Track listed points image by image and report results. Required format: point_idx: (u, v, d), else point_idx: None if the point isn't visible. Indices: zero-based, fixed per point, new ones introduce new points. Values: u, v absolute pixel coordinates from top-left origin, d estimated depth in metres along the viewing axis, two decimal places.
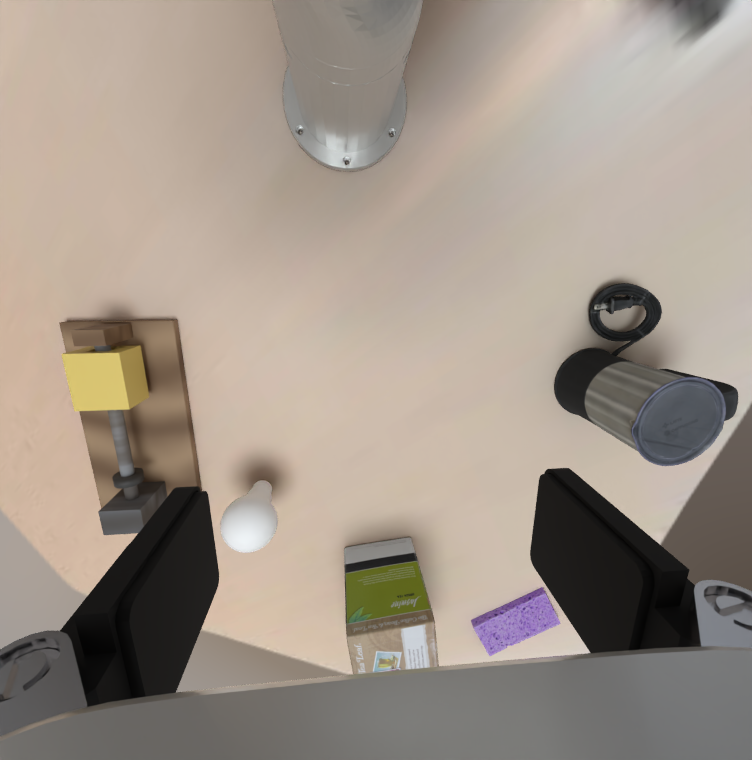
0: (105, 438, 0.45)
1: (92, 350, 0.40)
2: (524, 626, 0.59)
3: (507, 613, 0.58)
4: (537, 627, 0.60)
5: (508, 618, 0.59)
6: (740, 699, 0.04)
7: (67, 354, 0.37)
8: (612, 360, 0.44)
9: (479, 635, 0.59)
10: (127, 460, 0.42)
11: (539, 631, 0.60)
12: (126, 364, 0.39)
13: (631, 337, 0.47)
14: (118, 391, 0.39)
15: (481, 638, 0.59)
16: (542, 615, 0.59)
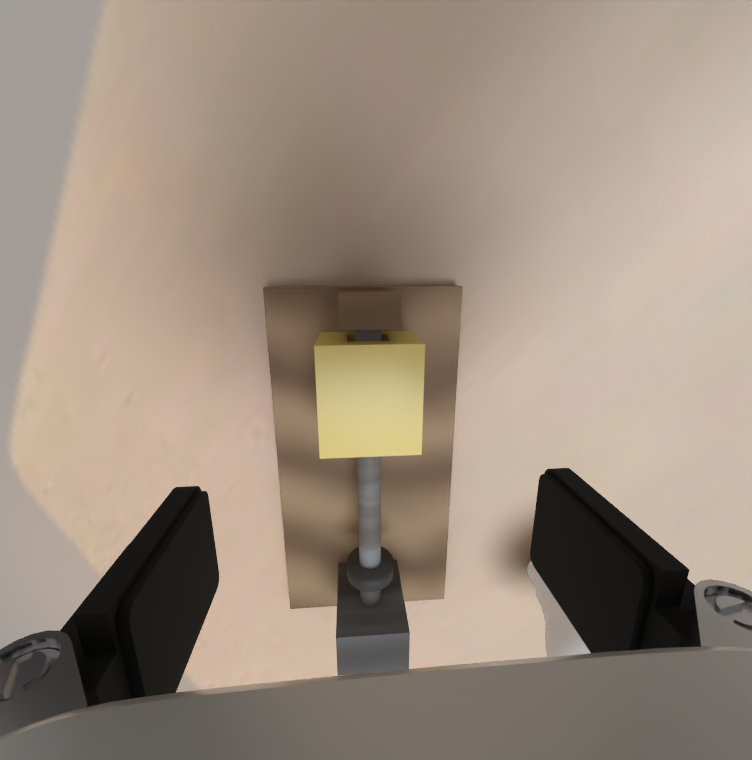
0: (313, 492, 0.26)
1: (346, 339, 0.20)
2: None
3: None
4: None
5: None
6: (740, 699, 0.04)
7: (324, 346, 0.18)
8: None
9: None
10: (378, 540, 0.23)
11: None
12: None
13: None
14: (408, 420, 0.20)
15: None
16: None
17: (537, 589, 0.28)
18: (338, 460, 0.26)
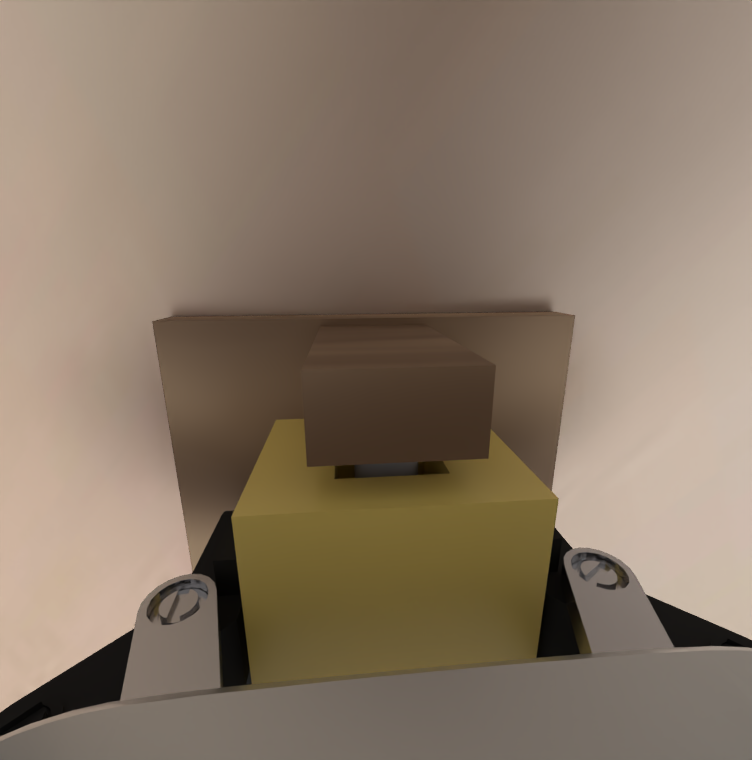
0: None
1: None
2: None
3: None
4: None
5: None
6: (740, 699, 0.04)
7: (264, 516, 0.06)
8: None
9: None
10: None
11: None
12: None
13: None
14: None
15: None
16: None
17: None
18: None
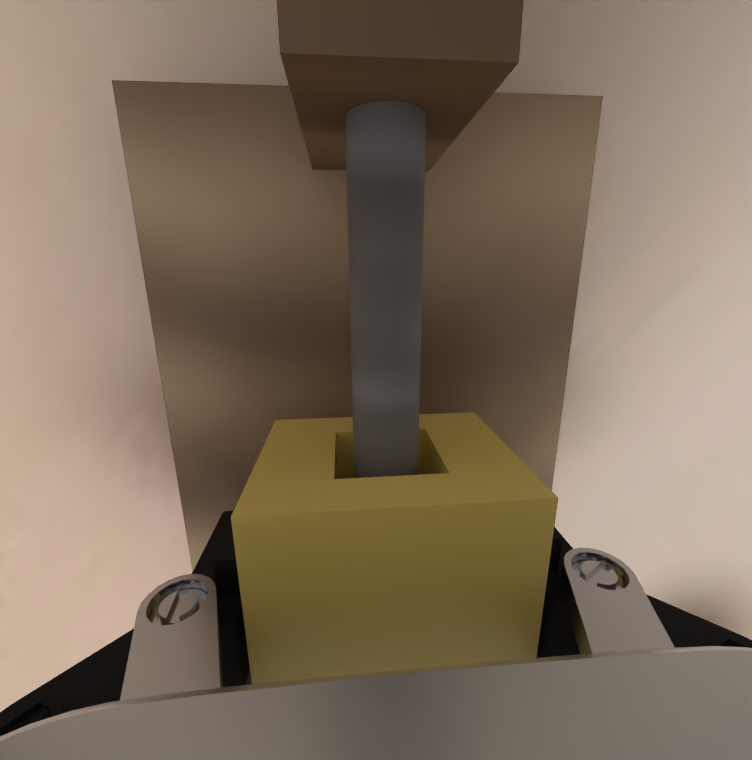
0: None
1: None
2: None
3: None
4: None
5: None
6: (742, 699, 0.04)
7: (264, 516, 0.06)
8: None
9: None
10: None
11: None
12: None
13: None
14: None
15: None
16: None
17: None
18: None
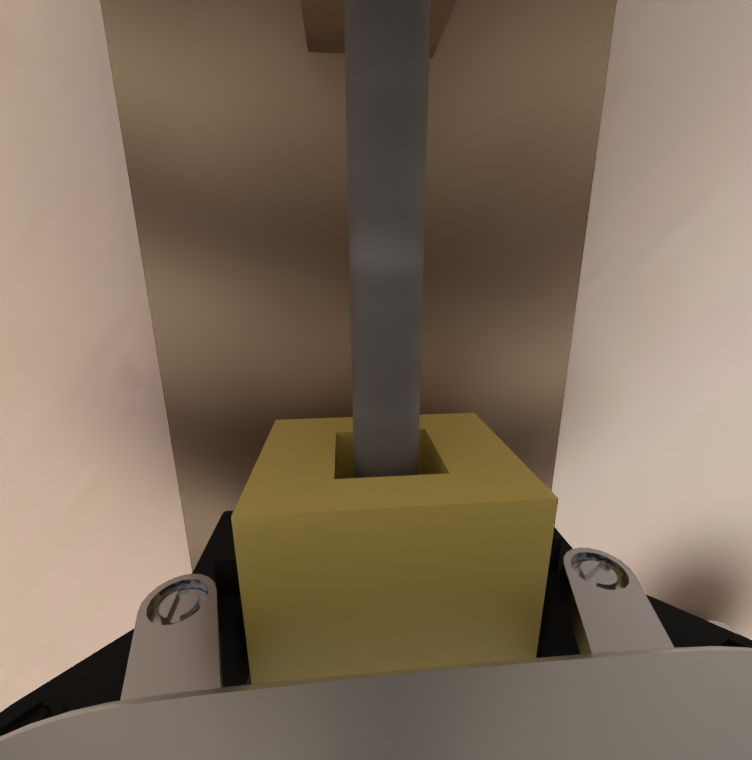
0: None
1: None
2: None
3: None
4: None
5: None
6: (741, 699, 0.04)
7: (264, 516, 0.06)
8: None
9: None
10: None
11: None
12: None
13: None
14: None
15: None
16: None
17: None
18: None
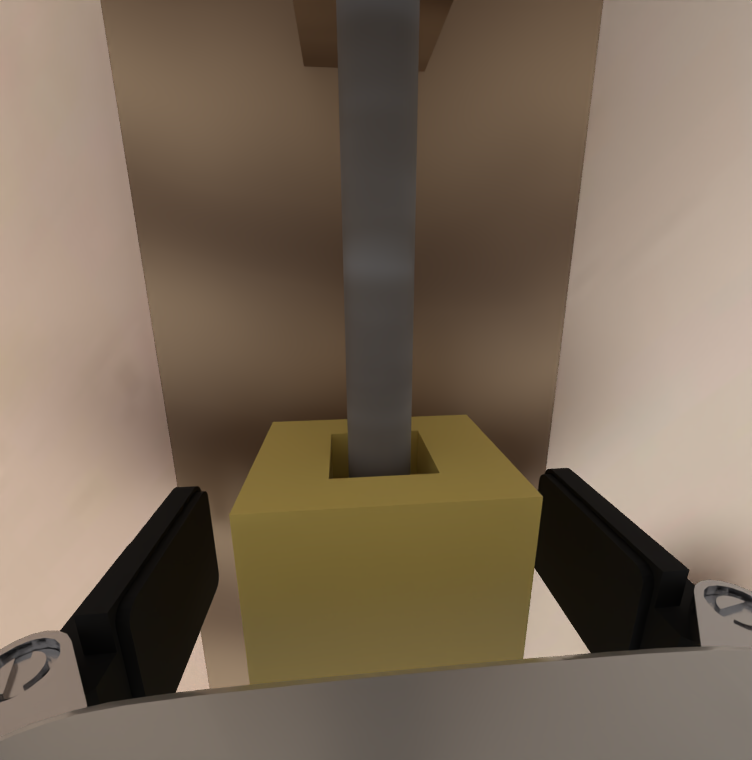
0: None
1: None
2: None
3: None
4: None
5: None
6: (740, 699, 0.04)
7: (261, 514, 0.06)
8: None
9: None
10: None
11: None
12: None
13: None
14: None
15: None
16: None
17: None
18: None
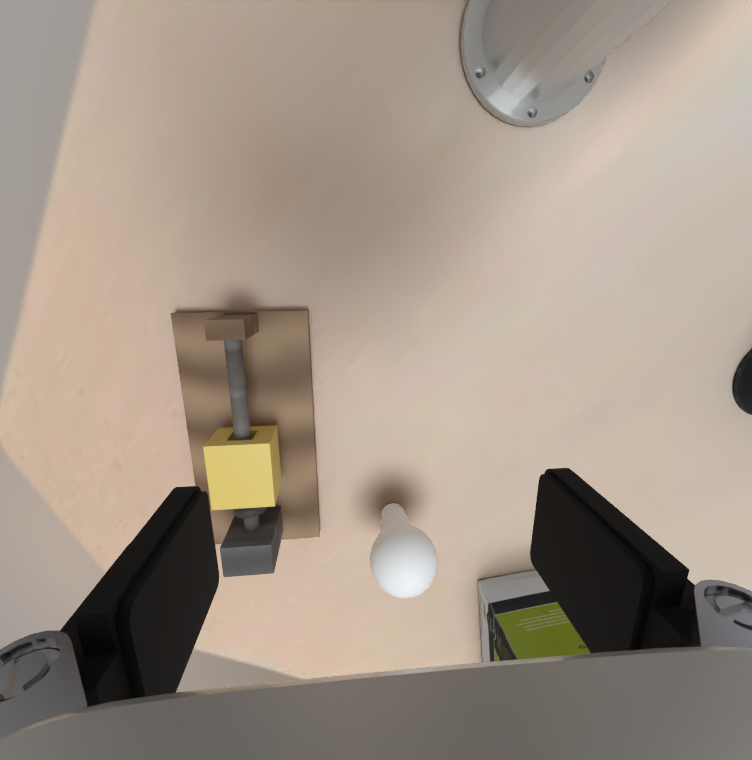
0: None
1: (229, 436, 0.34)
2: None
3: None
4: None
5: None
6: (741, 699, 0.04)
7: (209, 446, 0.31)
8: None
9: None
10: None
11: None
12: (272, 454, 0.33)
13: None
14: (264, 486, 0.33)
15: None
16: None
17: None
18: None
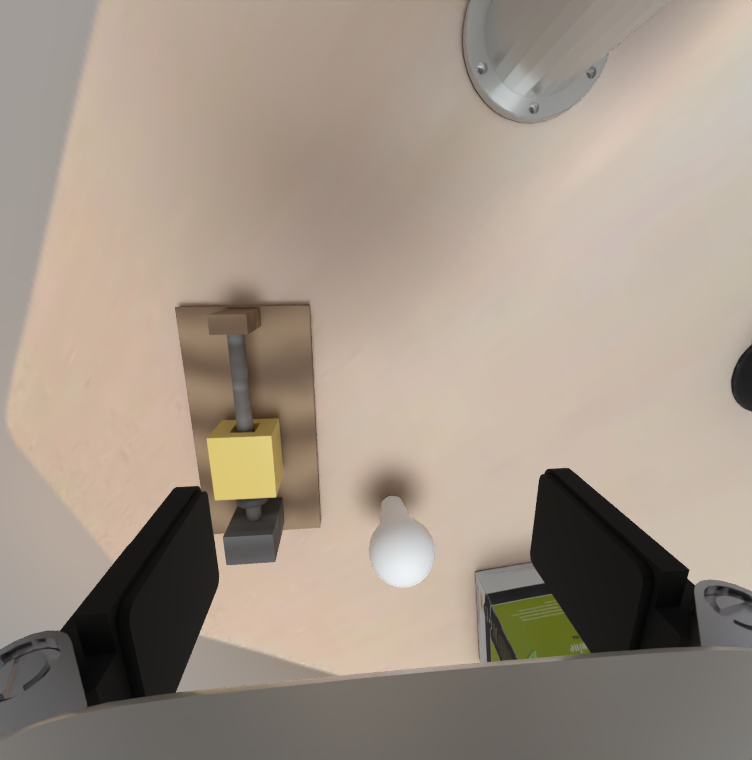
0: None
1: (232, 428, 0.34)
2: None
3: None
4: None
5: None
6: (741, 699, 0.04)
7: (212, 438, 0.32)
8: None
9: None
10: None
11: None
12: (273, 446, 0.34)
13: None
14: (266, 478, 0.34)
15: None
16: None
17: (380, 516, 0.40)
18: None
